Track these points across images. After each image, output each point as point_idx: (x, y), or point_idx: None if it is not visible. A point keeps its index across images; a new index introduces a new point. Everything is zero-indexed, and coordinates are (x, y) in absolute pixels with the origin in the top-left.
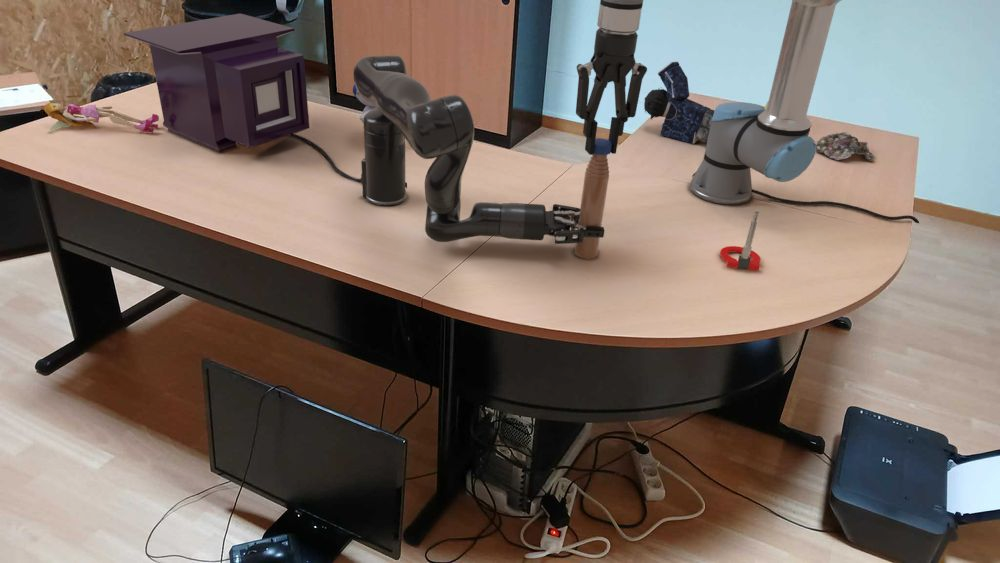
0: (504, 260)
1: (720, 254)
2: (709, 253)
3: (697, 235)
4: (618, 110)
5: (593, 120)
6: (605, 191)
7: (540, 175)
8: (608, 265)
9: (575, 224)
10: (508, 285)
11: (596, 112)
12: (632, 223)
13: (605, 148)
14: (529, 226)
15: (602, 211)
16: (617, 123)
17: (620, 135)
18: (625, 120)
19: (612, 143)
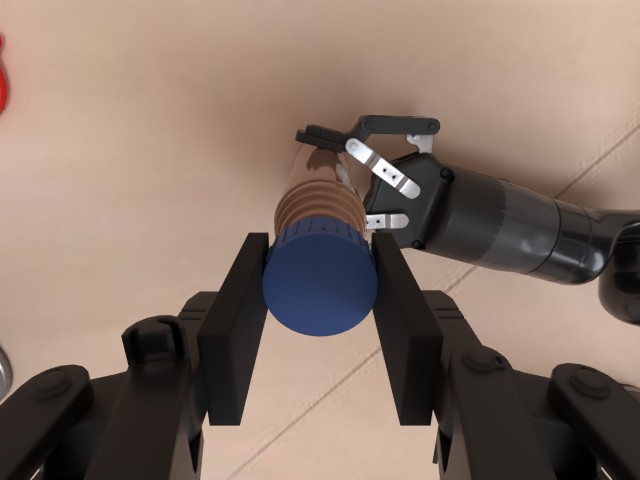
0: (503, 160)
1: (4, 94)
2: (32, 116)
3: (42, 199)
4: (188, 445)
5: (452, 354)
6: (294, 176)
7: (301, 453)
8: (288, 102)
9: (371, 160)
10: (543, 52)
11: (463, 411)
12: (176, 267)
13: (318, 228)
14: (487, 178)
15: (298, 162)
16: (226, 328)
17: (206, 293)
18: (152, 325)
19: (262, 268)
